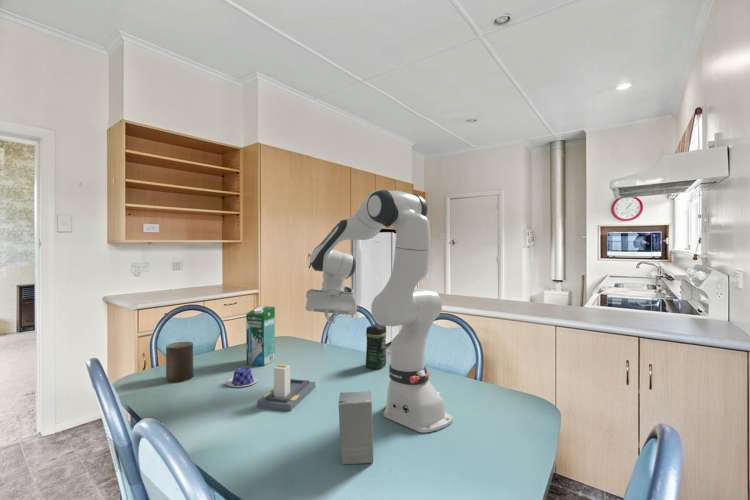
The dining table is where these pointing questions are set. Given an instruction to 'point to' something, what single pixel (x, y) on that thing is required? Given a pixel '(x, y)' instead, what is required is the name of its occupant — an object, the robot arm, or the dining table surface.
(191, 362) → the pillar candle
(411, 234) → the robot arm
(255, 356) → the milk carton
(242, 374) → the pudding
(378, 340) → the coffee jar
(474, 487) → the dining table surface
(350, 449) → the skincare box
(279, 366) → the white rectangular block
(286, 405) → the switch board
